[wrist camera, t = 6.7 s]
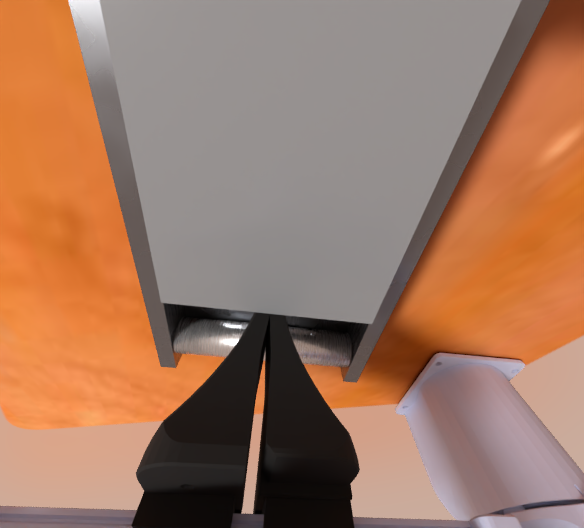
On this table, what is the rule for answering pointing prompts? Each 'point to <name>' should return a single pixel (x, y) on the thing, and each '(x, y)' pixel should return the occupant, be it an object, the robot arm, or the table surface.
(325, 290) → the slab
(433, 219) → the roller bed
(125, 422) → the table surface
